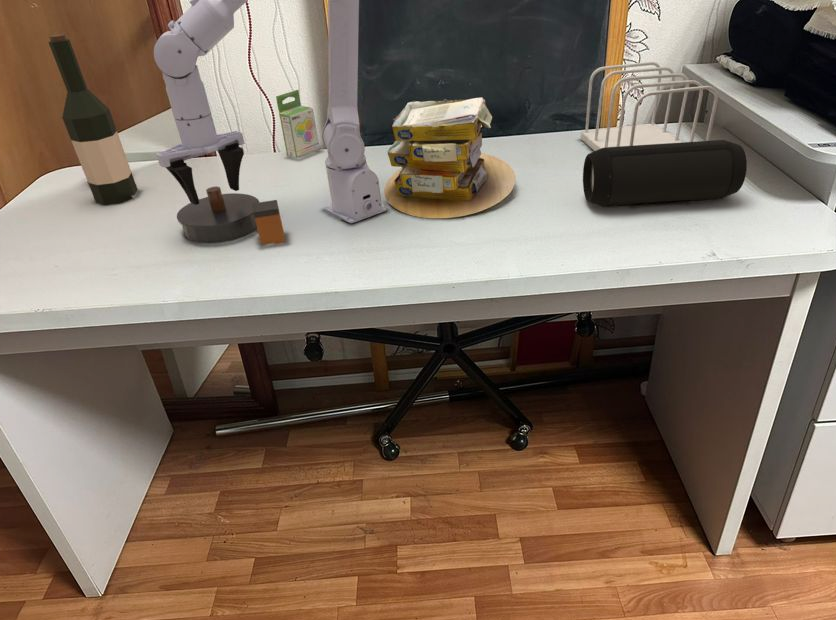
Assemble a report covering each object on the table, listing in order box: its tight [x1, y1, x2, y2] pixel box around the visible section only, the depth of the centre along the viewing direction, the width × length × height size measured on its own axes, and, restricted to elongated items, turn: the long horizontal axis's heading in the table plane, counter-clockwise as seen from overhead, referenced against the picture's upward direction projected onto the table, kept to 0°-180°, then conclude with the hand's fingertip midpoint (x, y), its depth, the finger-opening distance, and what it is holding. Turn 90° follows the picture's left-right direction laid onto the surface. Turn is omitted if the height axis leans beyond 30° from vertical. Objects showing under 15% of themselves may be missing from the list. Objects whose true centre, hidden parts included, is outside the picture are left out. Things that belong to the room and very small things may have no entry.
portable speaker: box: [582, 139, 748, 208], centre depth 108 cm, size 26×10×10 cm, turn 92°
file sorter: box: [580, 61, 719, 152], centre depth 126 cm, size 25×17×16 cm
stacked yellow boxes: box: [384, 96, 516, 219], centre depth 115 cm, size 25×25×17 cm
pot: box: [181, 215, 257, 244], centre depth 110 cm, size 13×13×3 cm
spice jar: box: [253, 199, 286, 246], centre depth 104 cm, size 4×4×6 cm
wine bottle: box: [48, 33, 138, 206], centre depth 119 cm, size 8×8×30 cm
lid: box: [176, 186, 260, 229], centre depth 108 cm, size 14×14×5 cm
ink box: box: [275, 89, 321, 159], centre depth 139 cm, size 7×4×13 cm, turn 143°
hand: (215, 196), depth 108 cm, fingers open, 7 cm apart
